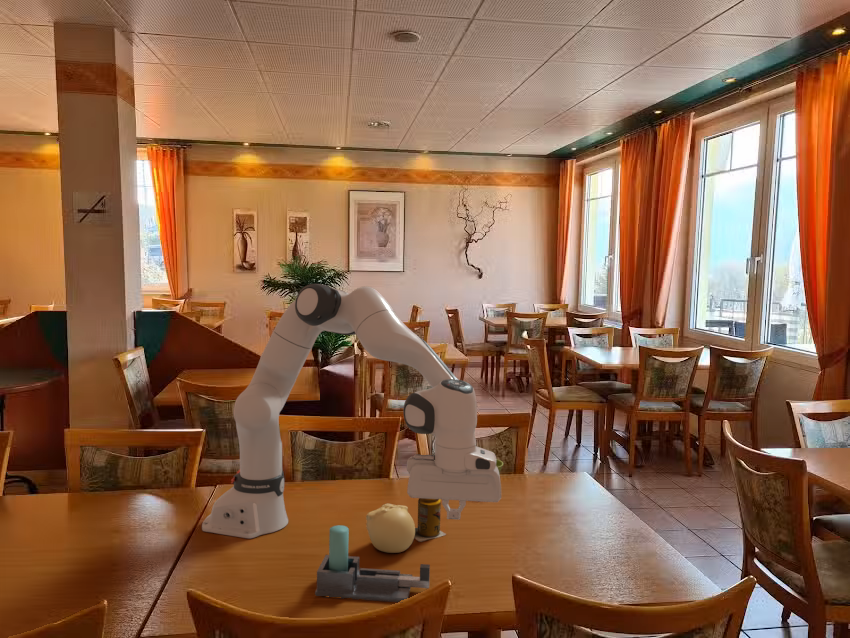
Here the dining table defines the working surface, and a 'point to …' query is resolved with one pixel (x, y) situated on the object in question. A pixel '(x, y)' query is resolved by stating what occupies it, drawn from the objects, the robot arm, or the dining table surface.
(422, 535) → the condiment
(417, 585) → the pin
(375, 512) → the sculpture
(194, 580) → the dining table surface
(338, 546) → the peg
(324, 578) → the mount
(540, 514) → the dining table surface
